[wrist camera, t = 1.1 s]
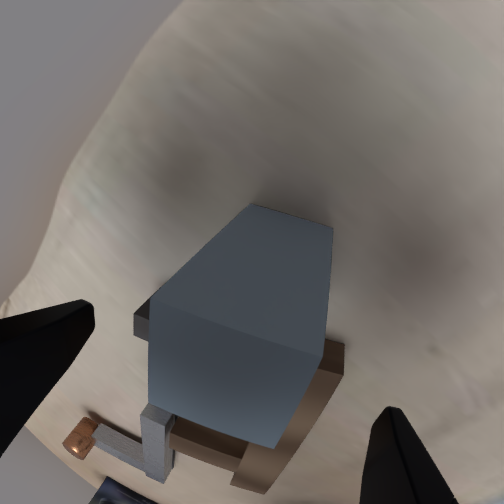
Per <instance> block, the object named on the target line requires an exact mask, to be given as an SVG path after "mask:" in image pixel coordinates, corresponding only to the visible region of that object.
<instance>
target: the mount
mask: <svg viewBox="0 0 504 504" xmlns="http://www.w3.org/2000/svg"><path fill="white" fill-rule="evenodd" d="M160 288H161V287H160ZM160 288H159V289H160ZM159 289H158V290H159ZM158 290H157V291H158ZM157 291H156V292H157ZM156 292H155V293H156ZM155 293H154V294H155ZM154 294H153V295H154ZM153 295H152V296H153ZM152 296H151V297H152ZM151 297H150V298H151ZM150 298H149V299H148V300H147V301H146V302H145V303H144V304H143V305H142V306H141V307H140V308H139V309H138V310H137V311H136V312H135V313H134V336H137V337H139V338H141V339H143V340H146V341H148V342H149V313H150ZM344 349H345V345H344V344H340V343H337V342H333V341H330V340H326V339H325V341H324V350H323V357H322V360H321V362H320V364H319V366H318V368H317V370H316V372H315V374H314V376H313V378H312V380H311V382H310V384H309V386H308V388H307V390H306V392H305V394H304V396H303V397H302V399H301V401H300V403H299V405H298V407H297V409H296V411H295V413H294V414H293V416H292V418H291V420H290V422H289V424H288V425H287V427H286V429H285V431H284V432H283V434H282V436H281V438H280V440H279V441H278V443H277V445H276V446H275V448H274V449H272V448H268V447H265V446H262V445H258V444H255V443H252V442H249V441H245V440H242V439H239V438H236V437H233V436H230V435H227V434H225V433H222V432H219V431H216V430H213V429H211V428H208V427H205V426H203V425H200V424H197V423H195V422H192V421H190V420H187V419H185V418H182V417H180V416H179V417H178V415H175V424H174V426H173V427H172V429H171V431H170V435H169V448H171V449H173V455H172V469H173V468H174V456H175V450H176V451H178V452H181V453H183V454H186V455H188V456H191V457H193V458H196V459H198V460H201V461H204V462H206V463H209V464H212V465H215V466H218V467H220V468H223V469H226V470H229V471H232V472H234V475H233V478H232V480H231V483H230V485H233V486H236V487H239V488H243V489H246V490H249V491H253V492H257V493H260V494H265V493H266V492H267V491H268V489H269V488H270V487H271V485H272V484H273V483H274V481H275V480H276V479H277V477H278V476H279V475H280V473H281V472H282V471H283V469H284V468H285V466H286V465H287V464H288V462H289V461H290V459H291V458H292V457H293V455H294V454H295V452H296V451H297V449H298V448H299V446H300V445H301V443H302V442H303V440H304V439H305V437H306V436H307V434H308V433H309V431H310V430H311V428H312V427H313V425H314V424H315V422H316V421H317V419H318V417H319V416H320V414H321V413H322V411H323V409H324V408H325V406H326V405H327V403H328V401H329V400H330V398H331V396H332V395H333V393H334V391H335V389H336V388H337V386H338V384H339V383H340V381H341V379H342V377H343V376H344Z"/></svg>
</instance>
